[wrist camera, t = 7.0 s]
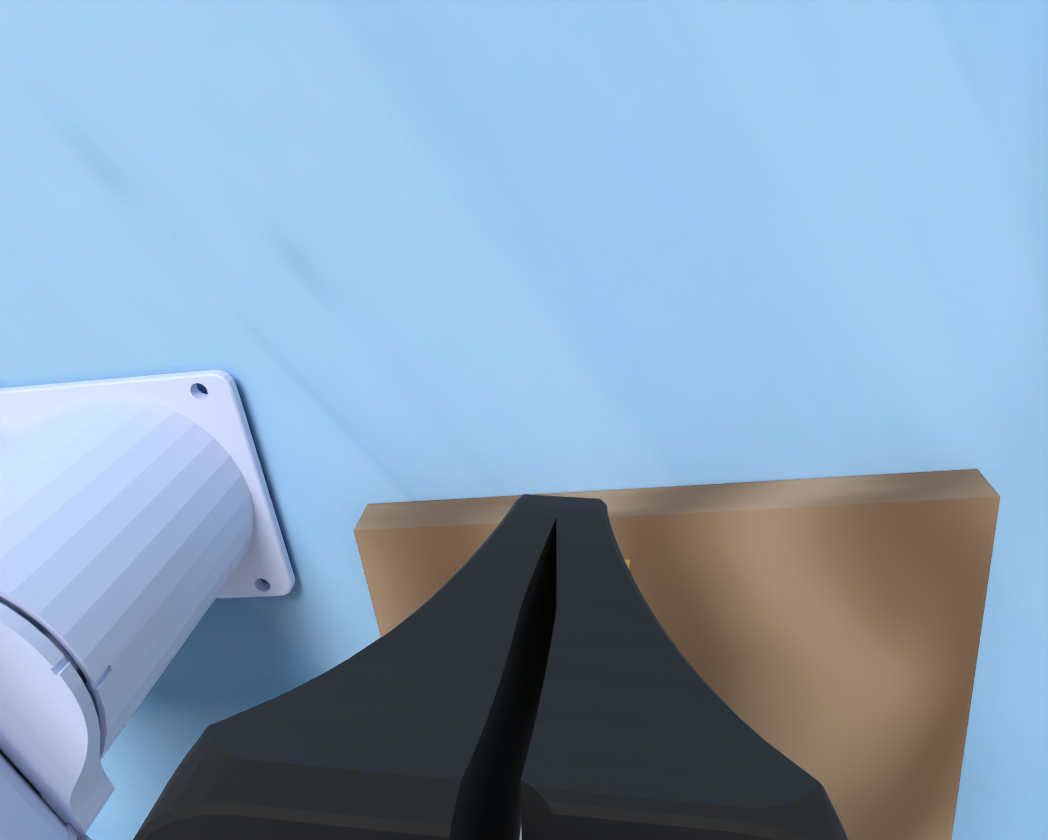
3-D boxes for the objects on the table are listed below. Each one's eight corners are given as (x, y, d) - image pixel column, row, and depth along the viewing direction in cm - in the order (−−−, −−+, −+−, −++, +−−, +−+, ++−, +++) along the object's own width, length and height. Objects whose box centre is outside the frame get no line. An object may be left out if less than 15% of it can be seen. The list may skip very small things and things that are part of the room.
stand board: (467, 910, 34) (460, 951, 32) (367, 504, 25) (351, 534, 24) (920, 919, 31) (935, 965, 29) (977, 468, 23) (1003, 500, 21)
